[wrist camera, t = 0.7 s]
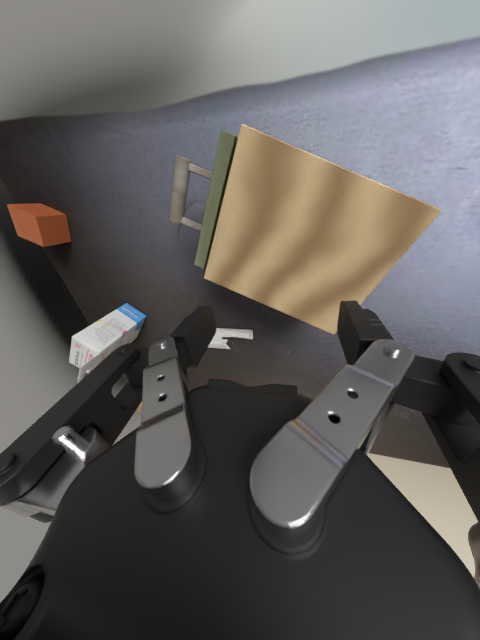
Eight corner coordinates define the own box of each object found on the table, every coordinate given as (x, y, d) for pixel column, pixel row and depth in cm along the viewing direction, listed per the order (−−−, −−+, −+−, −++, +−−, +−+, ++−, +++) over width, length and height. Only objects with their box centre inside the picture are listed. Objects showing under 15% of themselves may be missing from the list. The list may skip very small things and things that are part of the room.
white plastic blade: (254, 350, 37) (253, 354, 36) (186, 344, 41) (183, 348, 40) (252, 329, 34) (251, 333, 34) (180, 325, 38) (177, 328, 37)
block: (40, 203, 31) (6, 203, 27) (66, 214, 31) (35, 216, 27) (48, 231, 34) (17, 235, 30) (71, 241, 34) (43, 247, 30)
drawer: (185, 235, 27) (153, 247, 21) (202, 132, 21) (162, 103, 14) (308, 289, 27) (312, 316, 21) (363, 202, 21) (394, 203, 14)
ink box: (126, 301, 38) (49, 348, 26) (147, 315, 39) (82, 367, 27) (117, 326, 43) (49, 375, 31) (137, 338, 44) (77, 391, 32)
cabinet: (228, 256, 28) (203, 278, 21) (260, 151, 21) (241, 123, 13) (322, 297, 28) (334, 335, 21) (387, 205, 21) (443, 210, 13)
